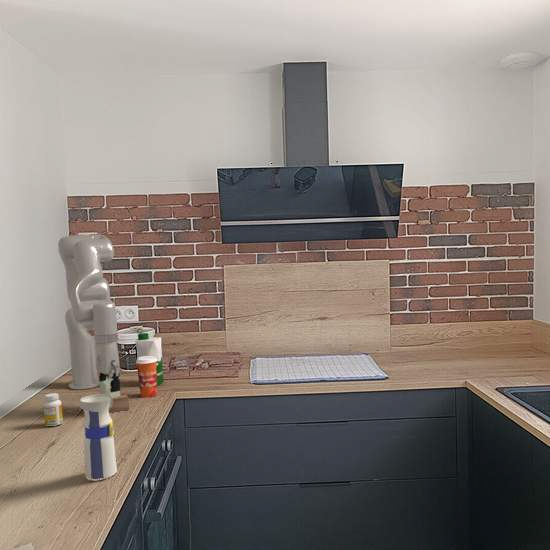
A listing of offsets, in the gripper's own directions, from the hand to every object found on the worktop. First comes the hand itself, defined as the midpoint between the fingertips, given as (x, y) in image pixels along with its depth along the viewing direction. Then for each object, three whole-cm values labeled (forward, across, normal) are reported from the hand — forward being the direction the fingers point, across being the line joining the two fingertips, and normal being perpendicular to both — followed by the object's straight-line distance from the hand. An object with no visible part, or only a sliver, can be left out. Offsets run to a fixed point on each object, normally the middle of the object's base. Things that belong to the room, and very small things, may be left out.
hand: (109, 388), depth 209 cm
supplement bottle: (+7, +3, -20) cm, 22 cm away
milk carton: (+7, -22, +25) cm, 34 cm away
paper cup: (+7, -7, +17) cm, 20 cm away
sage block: (+2, 0, 0) cm, 3 cm away
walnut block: (+7, 0, 0) cm, 7 cm away
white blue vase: (+7, +54, -23) cm, 59 cm away
